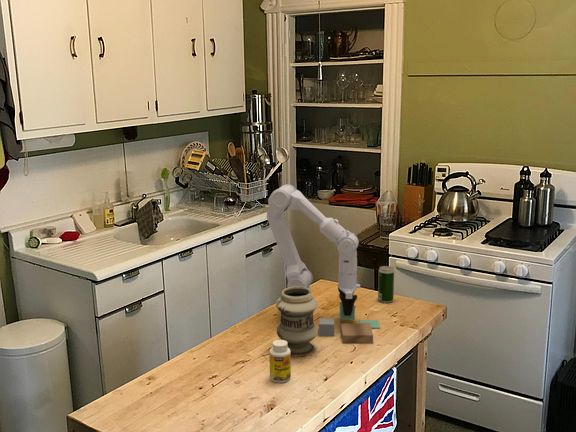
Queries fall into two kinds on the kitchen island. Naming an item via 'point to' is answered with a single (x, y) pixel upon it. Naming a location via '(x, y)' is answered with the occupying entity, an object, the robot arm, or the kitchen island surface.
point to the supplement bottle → (280, 361)
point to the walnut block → (356, 333)
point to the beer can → (386, 284)
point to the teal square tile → (371, 323)
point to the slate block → (326, 327)
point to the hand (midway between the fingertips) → (346, 312)
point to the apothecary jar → (297, 319)
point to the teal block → (343, 313)
